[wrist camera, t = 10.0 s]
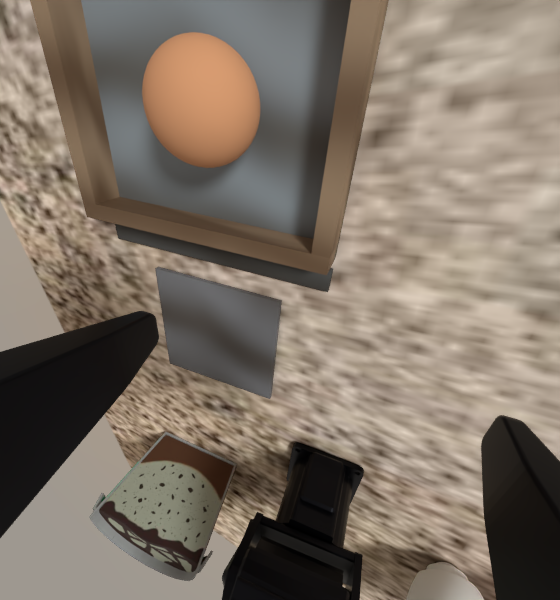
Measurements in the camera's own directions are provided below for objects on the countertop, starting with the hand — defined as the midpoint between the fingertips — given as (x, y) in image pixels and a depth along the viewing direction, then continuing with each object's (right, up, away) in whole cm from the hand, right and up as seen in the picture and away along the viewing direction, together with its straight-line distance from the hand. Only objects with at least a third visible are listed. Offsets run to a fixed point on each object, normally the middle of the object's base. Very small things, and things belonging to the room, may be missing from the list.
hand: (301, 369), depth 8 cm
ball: (-4, +10, +6) cm, 12 cm away
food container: (-10, -18, +30) cm, 36 cm away
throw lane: (-5, +6, +12) cm, 15 cm away
